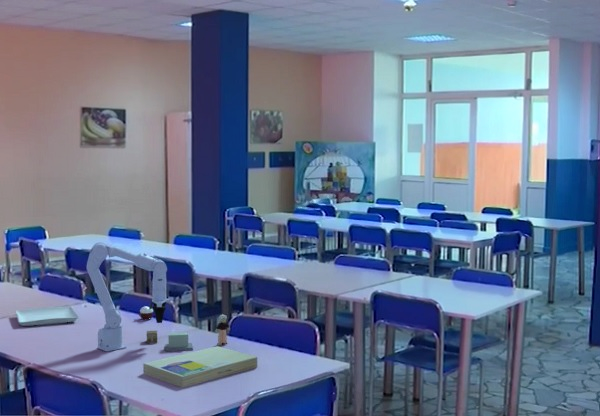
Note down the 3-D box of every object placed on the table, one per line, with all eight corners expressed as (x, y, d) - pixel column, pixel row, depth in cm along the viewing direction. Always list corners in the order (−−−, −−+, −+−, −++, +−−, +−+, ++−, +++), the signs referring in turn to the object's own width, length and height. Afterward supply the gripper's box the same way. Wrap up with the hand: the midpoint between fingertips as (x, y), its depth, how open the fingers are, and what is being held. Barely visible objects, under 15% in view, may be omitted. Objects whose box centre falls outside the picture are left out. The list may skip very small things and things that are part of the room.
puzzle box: (258, 368, 283) (218, 356, 299) (258, 356, 282) (218, 345, 299) (181, 389, 257) (141, 375, 274) (181, 376, 256) (141, 362, 273)
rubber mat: (191, 345, 315) (191, 342, 315) (192, 349, 307) (192, 347, 307) (165, 346, 313) (165, 343, 313) (165, 351, 305) (165, 348, 305)
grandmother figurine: (220, 346, 313) (220, 316, 312) (213, 344, 315) (213, 315, 315) (232, 342, 319) (232, 313, 318) (225, 341, 322) (225, 312, 321)
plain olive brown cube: (157, 343, 318) (157, 332, 318) (146, 343, 318) (146, 333, 317) (157, 340, 323) (157, 330, 323) (146, 340, 322) (146, 330, 322)
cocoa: (136, 319, 365) (135, 295, 364) (147, 317, 370) (146, 293, 369) (147, 322, 358) (145, 297, 358) (158, 319, 363) (156, 295, 362)
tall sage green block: (187, 344, 312) (187, 332, 312) (188, 346, 309) (188, 334, 308) (168, 344, 311) (168, 333, 311) (168, 347, 307) (168, 335, 307)
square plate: (14, 317, 368) (14, 309, 368) (71, 313, 380) (71, 305, 379) (18, 329, 344) (18, 320, 343) (79, 324, 355) (79, 315, 355)
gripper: (169, 291, 307) (169, 324, 308) (168, 285, 321) (169, 316, 322) (151, 292, 306) (151, 324, 307) (152, 286, 320) (152, 317, 321)
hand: (159, 320), depth 314 cm, fingers open, 7 cm apart
